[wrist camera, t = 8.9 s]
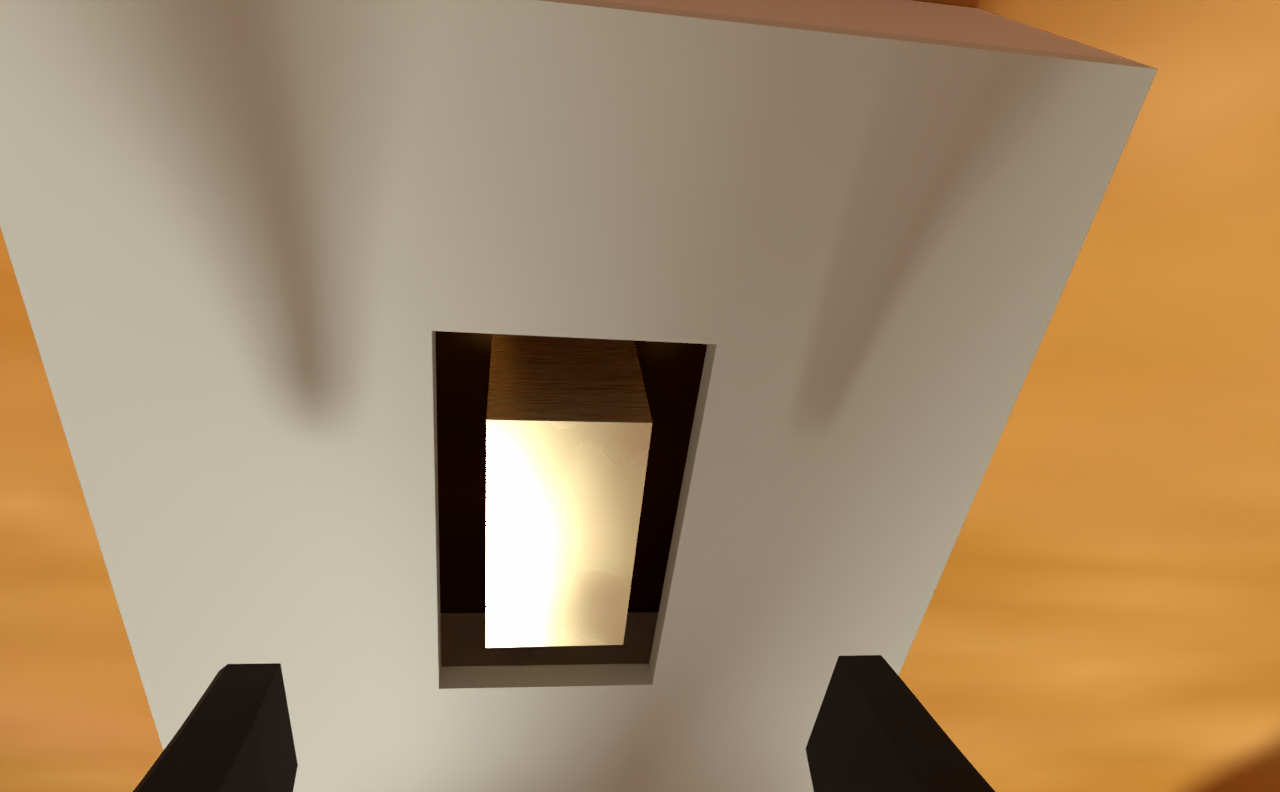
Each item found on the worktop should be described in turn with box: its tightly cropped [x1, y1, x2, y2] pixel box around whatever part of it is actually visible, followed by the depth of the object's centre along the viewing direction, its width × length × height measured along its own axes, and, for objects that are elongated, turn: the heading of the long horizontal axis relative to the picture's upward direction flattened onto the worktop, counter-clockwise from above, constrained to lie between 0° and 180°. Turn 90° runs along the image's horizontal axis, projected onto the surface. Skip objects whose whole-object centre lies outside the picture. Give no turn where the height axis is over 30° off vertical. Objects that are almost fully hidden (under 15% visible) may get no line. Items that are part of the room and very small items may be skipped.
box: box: [0, 0, 1158, 792], centre depth 16 cm, size 16×14×5 cm
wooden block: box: [486, 334, 652, 648], centre depth 16 cm, size 5×2×5 cm, turn 174°
